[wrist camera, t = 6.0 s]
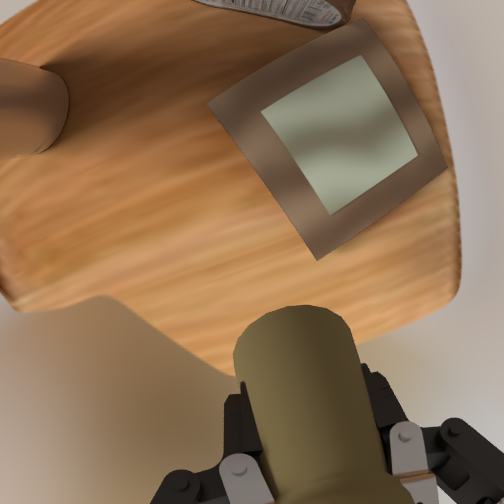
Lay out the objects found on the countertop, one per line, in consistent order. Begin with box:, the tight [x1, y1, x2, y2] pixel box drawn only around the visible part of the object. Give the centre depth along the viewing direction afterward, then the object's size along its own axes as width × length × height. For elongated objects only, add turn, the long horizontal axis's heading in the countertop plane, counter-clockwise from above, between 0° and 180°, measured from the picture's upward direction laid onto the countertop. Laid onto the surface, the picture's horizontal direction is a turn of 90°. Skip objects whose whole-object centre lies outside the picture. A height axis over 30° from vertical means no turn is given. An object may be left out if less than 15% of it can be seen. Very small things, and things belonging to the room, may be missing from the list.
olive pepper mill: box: [233, 305, 415, 504], centre depth 9 cm, size 6×6×11 cm
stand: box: [206, 18, 448, 261], centre depth 23 cm, size 16×16×4 cm
